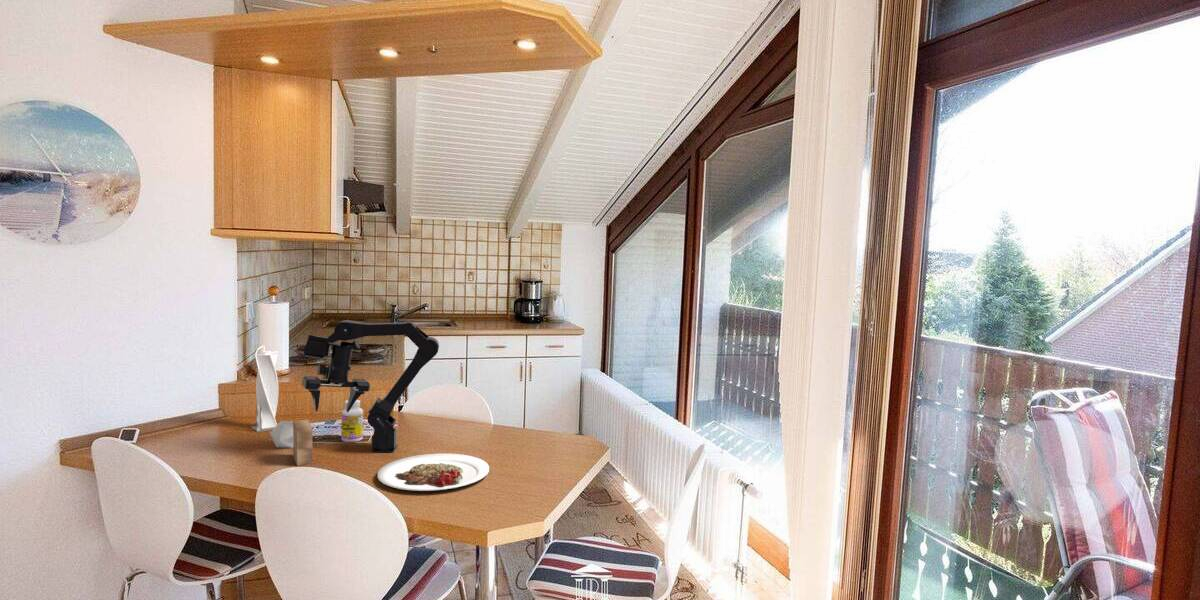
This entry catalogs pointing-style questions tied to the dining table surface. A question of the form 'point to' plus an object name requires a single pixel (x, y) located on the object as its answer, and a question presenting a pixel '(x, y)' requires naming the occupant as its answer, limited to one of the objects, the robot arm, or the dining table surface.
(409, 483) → the plated food
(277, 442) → the die
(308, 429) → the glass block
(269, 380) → the skyscraper
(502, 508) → the dining table surface
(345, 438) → the supplement bottle
